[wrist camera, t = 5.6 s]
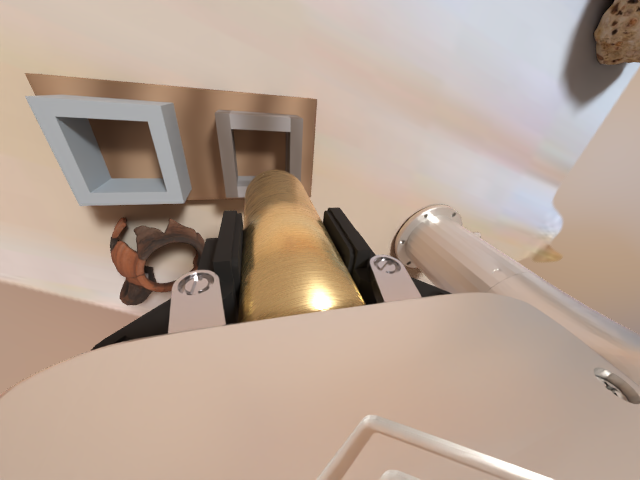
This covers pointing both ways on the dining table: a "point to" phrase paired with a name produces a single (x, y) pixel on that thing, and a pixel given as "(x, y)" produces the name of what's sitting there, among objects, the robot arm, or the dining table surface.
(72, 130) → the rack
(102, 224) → the dining table surface
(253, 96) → the tool board
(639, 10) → the rock
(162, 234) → the pottery mug
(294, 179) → the brass cylinder
